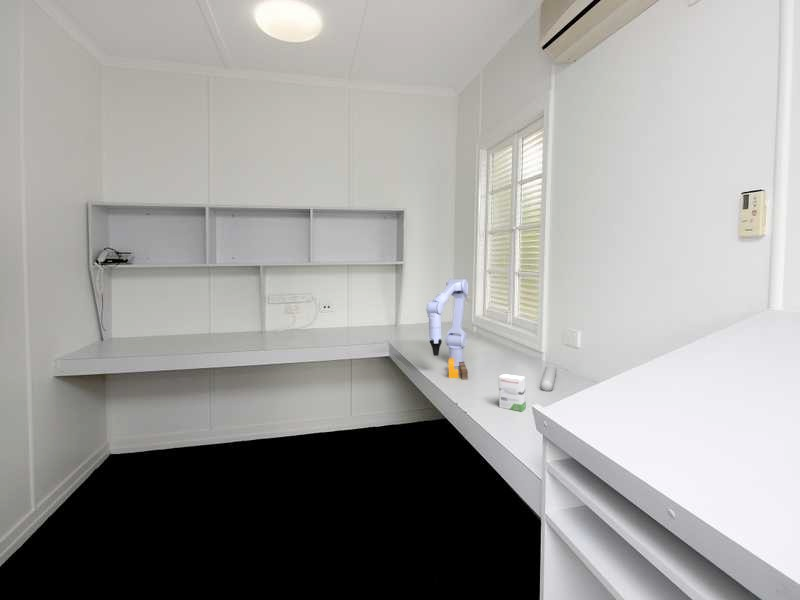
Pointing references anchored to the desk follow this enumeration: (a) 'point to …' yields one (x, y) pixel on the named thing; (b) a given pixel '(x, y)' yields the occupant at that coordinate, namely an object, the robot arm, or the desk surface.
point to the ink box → (512, 392)
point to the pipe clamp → (452, 369)
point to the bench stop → (463, 370)
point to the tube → (548, 377)
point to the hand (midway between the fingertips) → (435, 355)
